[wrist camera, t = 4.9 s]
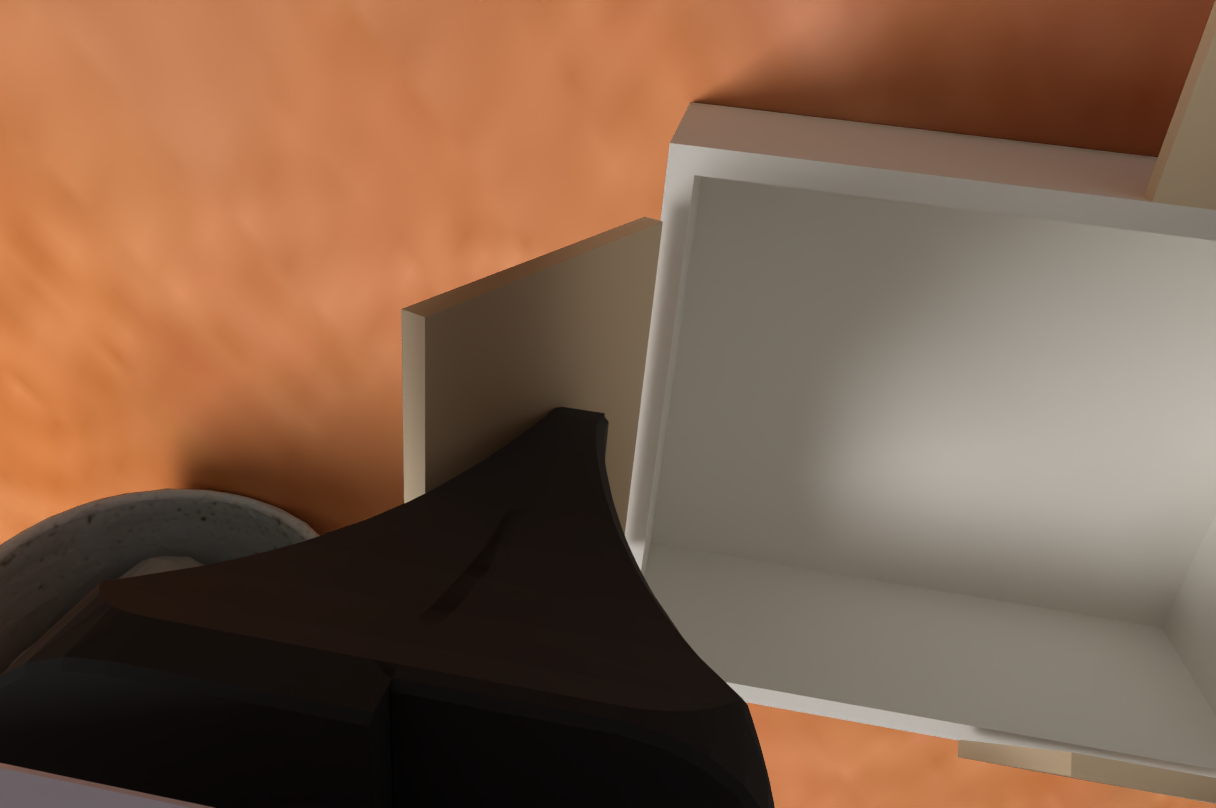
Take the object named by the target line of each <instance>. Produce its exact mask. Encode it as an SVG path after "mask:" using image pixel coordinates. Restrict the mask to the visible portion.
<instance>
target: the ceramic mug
mask: <svg viewBox="0 0 1216 808" xmlns="http://www.w3.org/2000/svg"><path fill="white" fill-rule="evenodd" d="M318 536H320V535H319V534H318V533H316V532H315V531H314V530H313V529H312V528H311V527H310V526H309V525H308V524H307V523H306V522H304V521H302V520H300V519H298V518H297V517H295V516H293V515H291V514H289V513H288V512H286V511H284V510H283V509H280V508H278V507H275V506H273V505H270V504H267V503H264V502H262V501H259V500H256V499H253V498H249V497H245V496H240V495H236V494H231V493H227V492H218V491H214V490H201V489H160V490H153V491H145V492H135V493H126V494H121V495H116V496H112V497H107V498H102V499H99V500H95V501H92V502H89V503H86V504H83V505H80V506H77V507H74V508H72V509H69V510H67V511H64V512H62V513H59V514H57V515H54V516H52V517H49V518H47V519H45V520H43V521H41V522H39V523H37V524H35V525H33V526H31V527H30V528H28V529H26V530H24V531H22V532H20V533H19V534H17V535H16V536H14V537H12V538H11V539H9V540H7V541H6V542H4V543H3V544H1V545H0V674H2V673H3V672H4V671H5V670H6V669H7V668H8V667H9V666H10V665H11V664H12V663H14V662H15V661H16V660H17V659H18V658H19V657H20V656H21V655H22V654H23V653H24V652H25V651H27V650H28V649H29V648H30V647H31V646H32V645H33V644H34V643H35V642H36V641H37V640H38V639H40V638H41V637H42V636H43V635H44V634H45V633H46V632H47V631H48V630H49V629H50V628H52V627H53V626H54V625H55V624H56V623H57V622H58V621H59V620H60V619H61V618H62V617H63V616H65V615H66V614H67V613H68V612H69V611H70V610H71V609H72V608H73V607H74V606H75V605H76V604H78V603H79V602H80V601H81V600H82V599H83V598H84V597H85V596H86V595H87V594H88V593H90V592H91V591H92V590H93V589H94V588H95V587H97V586H98V585H99V584H100V583H101V582H102V581H105V580H113V579H121V578H128V577H135V576H141V575H147V574H154V573H160V572H166V571H173V570H179V569H185V568H192V567H198V566H203V565H208V564H213V563H218V562H223V561H228V560H232V559H237V558H241V557H245V556H250V555H254V554H258V553H263V552H266V551H270V550H274V549H277V548H281V547H285V546H289V545H292V544H296V543H299V542H303V541H306V540H309V539H312V538H315V537H318Z"/></svg>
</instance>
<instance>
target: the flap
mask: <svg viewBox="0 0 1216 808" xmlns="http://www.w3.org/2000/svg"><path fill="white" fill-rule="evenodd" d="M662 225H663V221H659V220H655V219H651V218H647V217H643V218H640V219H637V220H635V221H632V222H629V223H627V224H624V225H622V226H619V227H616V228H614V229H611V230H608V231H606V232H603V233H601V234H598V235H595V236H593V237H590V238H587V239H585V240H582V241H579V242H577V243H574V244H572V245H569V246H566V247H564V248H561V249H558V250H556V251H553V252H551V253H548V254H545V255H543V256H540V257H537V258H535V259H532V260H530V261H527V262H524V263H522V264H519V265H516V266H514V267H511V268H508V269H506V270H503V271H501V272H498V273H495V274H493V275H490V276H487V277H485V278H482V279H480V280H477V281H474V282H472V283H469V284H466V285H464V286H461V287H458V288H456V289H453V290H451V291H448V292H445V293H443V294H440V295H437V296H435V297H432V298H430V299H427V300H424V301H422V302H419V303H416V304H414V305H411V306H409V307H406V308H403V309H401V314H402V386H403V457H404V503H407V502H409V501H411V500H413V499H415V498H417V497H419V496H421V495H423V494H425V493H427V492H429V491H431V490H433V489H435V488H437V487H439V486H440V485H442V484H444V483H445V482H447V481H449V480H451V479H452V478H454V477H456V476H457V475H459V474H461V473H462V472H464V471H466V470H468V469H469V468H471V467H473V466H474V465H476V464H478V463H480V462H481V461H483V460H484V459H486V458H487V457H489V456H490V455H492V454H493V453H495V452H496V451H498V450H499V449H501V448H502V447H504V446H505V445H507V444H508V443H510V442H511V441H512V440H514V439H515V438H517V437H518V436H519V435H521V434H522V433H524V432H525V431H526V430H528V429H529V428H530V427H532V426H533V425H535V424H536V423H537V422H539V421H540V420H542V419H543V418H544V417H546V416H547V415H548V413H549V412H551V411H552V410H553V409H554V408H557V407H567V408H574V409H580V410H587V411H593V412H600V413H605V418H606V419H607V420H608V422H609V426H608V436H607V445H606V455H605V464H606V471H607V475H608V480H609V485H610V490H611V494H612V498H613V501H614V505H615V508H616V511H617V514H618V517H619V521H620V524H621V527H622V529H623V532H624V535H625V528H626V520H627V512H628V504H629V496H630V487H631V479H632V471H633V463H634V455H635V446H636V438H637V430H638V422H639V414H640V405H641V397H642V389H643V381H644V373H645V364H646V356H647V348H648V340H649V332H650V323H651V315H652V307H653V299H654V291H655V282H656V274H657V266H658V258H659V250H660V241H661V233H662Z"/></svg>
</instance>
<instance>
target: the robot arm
mask: <svg viewBox="0 0 1216 808" xmlns="http://www.w3.org/2000/svg"><path fill="white" fill-rule="evenodd" d="M608 426H609V422H608V420H607V419H606V418H605V413H600V412H593V411H587V410H580V409H574V408H567V407H557V408H554V409H553V410H552V411H551V412H549V413H548V415H547V416H546V417H544V418H543V419H542V420H540V421H539V422H537V423H536V424H535V425H533V426H532V427H530V428H529V429H528V430H526V431H525V432H524V433H522V434H521V435H519V436H518V437H517V438H515V439H514V440H512V441H511V442H510V443H508V444H507V445H505V446H504V447H502V448H501V449H499V450H498V451H496V452H495V453H493V454H492V455H490V456H489V457H487V458H486V459H484V460H483V461H481V462H480V463H478V464H476V465H474V466H473V467H471V468H469V469H468V470H466V471H464V472H462V473H461V474H459V475H457V476H456V477H454V478H452V479H451V480H449V481H447V482H445V483H444V484H442V485H440V486H439V487H437V488H435V489H433V490H431V491H429V492H427V493H425V494H423V495H421V496H419V497H417V498H415V499H413V500H411V501H409V502H407V503H404V504H402V505H400V506H398V507H395V508H393V509H391V510H388V511H386V512H384V513H382V514H379V515H377V516H374V517H372V518H369V519H367V520H364V521H361V522H358V523H356V524H353V525H350V526H347V527H344V528H341V529H338V530H335V531H332V532H329V533H326V534H324V535H321V536H318V537H315V538H312V539H309V540H306V541H303V542H299V543H296V544H292V545H289V546H285V547H281V548H277V549H274V550H270V551H266V552H263V553H258V554H254V555H250V556H245V557H241V558H237V559H232V560H228V561H223V562H218V563H213V564H208V565H203V566H198V567H192V568H185V569H179V570H173V571H166V572H160V573H154V574H147V575H141V576H135V577H128V578H121V579H113V580H105V581H102V582H101V583H100V584H99V585H98V586H97V587H95V588H94V589H93V590H92V591H91V592H90V593H88V594H87V595H86V596H85V597H84V598H83V599H82V600H81V601H80V602H79V603H78V604H76V605H75V606H74V607H73V608H72V609H71V610H70V611H69V612H68V613H67V614H66V615H65V616H63V617H62V618H61V619H60V620H59V621H58V622H57V623H56V624H55V625H54V626H53V627H52V628H50V629H49V630H48V631H47V632H46V633H45V634H44V635H43V636H42V637H41V638H40V639H38V640H37V641H36V642H35V643H34V644H33V645H32V646H31V647H30V648H29V649H28V650H27V651H25V652H24V653H23V654H22V655H21V656H20V657H19V658H18V659H17V660H16V661H15V662H14V663H12V664H11V665H10V666H9V667H8V668H7V669H6V670H5V671H4V672H3V673H2V674H0V808H774V802H773V797H772V792H771V786H770V782H769V777H768V773H767V769H766V765H765V762H764V758H763V754H762V750H761V746H760V743H759V740H758V737H757V733H756V730H755V727H754V723H753V720H752V717H751V714H750V711H749V708H748V705H747V704H746V703H745V701H744V700H743V699H742V698H741V697H740V696H739V695H738V694H737V693H736V692H735V691H734V690H733V689H732V688H731V687H730V686H729V685H728V684H727V683H726V682H725V681H724V680H723V679H722V678H721V677H720V676H719V675H718V674H717V673H715V672H714V671H713V670H712V669H711V668H710V667H709V666H708V665H707V664H706V663H705V662H704V661H703V660H702V659H701V658H700V657H699V656H698V655H697V654H696V652H695V651H694V650H693V649H692V648H691V646H690V645H689V644H688V643H687V642H686V640H685V639H684V638H683V637H682V635H681V634H680V632H679V631H678V629H677V628H676V626H675V625H674V624H673V622H672V621H671V619H670V618H669V616H668V615H667V613H666V612H665V610H664V609H663V607H662V606H661V604H660V603H659V602H658V600H657V599H656V597H655V596H654V594H653V592H652V591H651V589H650V587H649V585H648V583H647V581H646V580H645V578H644V576H643V574H642V572H641V570H640V568H639V566H638V564H637V562H636V560H635V558H634V556H633V554H632V551H631V549H630V547H629V545H628V542H627V540H626V537H625V535H624V532H623V529H622V527H621V524H620V521H619V517H618V514H617V511H616V508H615V505H614V501H613V498H612V494H611V490H610V485H609V480H608V475H607V471H606V464H605V455H606V445H607V436H608Z"/></svg>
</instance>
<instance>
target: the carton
mask: <svg viewBox="0 0 1216 808" xmlns="http://www.w3.org/2000/svg"><path fill="white" fill-rule="evenodd" d="M661 221H663V225H662V233H661V241H660V250H659V258H658V266H657V274H656V282H655V291H654V299H653V307H652V315H651V323H650V332H649V340H648V348H647V356H646V364H645V373H644V381H643V389H642V397H641V405H640V414H639V422H638V430H637V438H636V446H635V455H634V463H633V471H632V479H631V487H630V496H629V504H628V512H627V520H626V528H625V537H626V540H627V542H628V545H629V547H630V549H631V551H632V554H633V556H634V558H635V560H636V562H637V564H638V566H639V568H640V570H641V572H642V574H643V576H644V578H645V580H646V581H647V583H648V585H649V587H650V589H651V591H652V592H653V594H654V596H655V597H656V599H657V600H658V602H659V603H660V604H661V606H662V607H663V609H664V610H665V612H666V613H667V615H668V616H669V618H670V619H671V621H672V622H673V624H674V625H675V626H676V628H677V629H678V631H679V632H680V634H681V635H682V637H683V638H684V639H685V640H686V642H687V643H688V644H689V645H690V646H691V648H692V649H693V650H694V651H695V652H696V654H697V655H698V656H699V657H700V658H701V659H702V660H703V661H704V662H705V663H706V664H707V665H708V666H709V667H710V668H711V669H712V670H713V671H714V672H715V673H717V674H718V675H719V676H720V677H721V678H722V679H723V680H724V681H725V682H726V683H727V684H728V685H729V686H730V687H731V688H732V689H733V690H734V691H735V692H736V693H737V694H738V695H739V696H740V697H741V698H742V699H743V700H744V701H745V702H748V703H754V704H759V705H765V706H770V707H776V708H782V709H787V710H793V711H798V712H804V713H809V714H815V715H820V716H826V717H831V718H837V719H843V720H848V721H854V722H859V723H865V724H870V725H876V726H881V727H887V728H892V729H898V730H904V731H909V732H915V733H920V734H926V735H931V736H937V737H942V738H948V739H953V740H967V741H976V742H985V743H994V744H1003V745H1012V746H1021V747H1030V748H1039V749H1048V750H1057V751H1065V752H1073V753H1079V754H1084V755H1090V756H1096V757H1101V758H1107V759H1112V760H1118V761H1123V762H1129V763H1135V764H1140V765H1146V766H1151V767H1157V768H1162V769H1168V770H1174V771H1179V772H1185V773H1190V774H1196V775H1201V776H1207V777H1213V778H1216V0H1215V2H1214V5H1213V8H1212V11H1211V13H1210V16H1209V19H1208V22H1207V24H1206V27H1205V30H1204V33H1203V35H1202V38H1201V41H1200V43H1199V46H1198V49H1197V52H1196V54H1195V57H1194V60H1193V63H1192V65H1191V68H1190V71H1189V74H1188V76H1187V79H1186V82H1185V84H1184V87H1183V90H1182V93H1181V95H1180V98H1179V101H1178V104H1177V106H1176V109H1175V112H1174V115H1173V117H1172V120H1171V123H1170V125H1169V128H1168V131H1167V134H1166V136H1165V139H1164V142H1163V145H1162V147H1161V150H1160V153H1159V156H1158V157H1151V156H1142V155H1134V154H1125V153H1117V152H1108V151H1100V150H1091V149H1083V148H1075V147H1066V146H1058V145H1049V144H1041V143H1032V142H1024V141H1015V140H1007V139H998V138H990V137H981V136H973V135H964V134H956V133H948V132H939V131H931V130H922V129H914V128H905V127H897V126H888V125H880V124H871V123H863V122H854V121H846V120H837V119H829V118H821V117H812V116H804V115H795V114H787V113H778V112H770V111H761V110H753V109H744V108H736V107H727V106H719V105H710V104H702V103H694V102H690V104H689V106H688V108H687V110H686V112H685V114H684V116H683V118H682V120H681V122H680V124H679V126H678V128H677V130H676V132H675V134H674V136H673V138H672V140H671V142H670V147H669V155H668V163H667V172H666V180H665V188H664V196H663V205H662V213H661Z"/></svg>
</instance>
